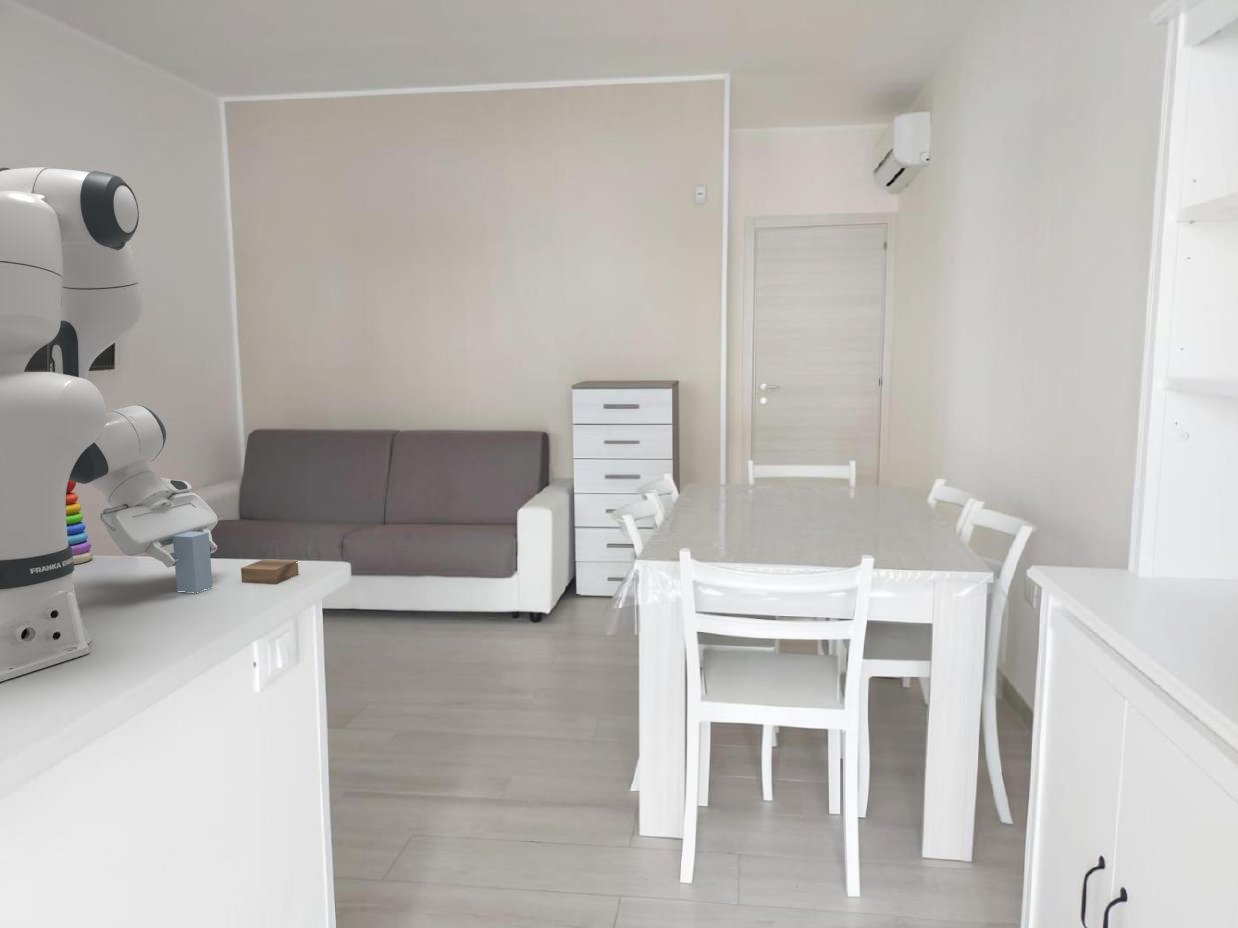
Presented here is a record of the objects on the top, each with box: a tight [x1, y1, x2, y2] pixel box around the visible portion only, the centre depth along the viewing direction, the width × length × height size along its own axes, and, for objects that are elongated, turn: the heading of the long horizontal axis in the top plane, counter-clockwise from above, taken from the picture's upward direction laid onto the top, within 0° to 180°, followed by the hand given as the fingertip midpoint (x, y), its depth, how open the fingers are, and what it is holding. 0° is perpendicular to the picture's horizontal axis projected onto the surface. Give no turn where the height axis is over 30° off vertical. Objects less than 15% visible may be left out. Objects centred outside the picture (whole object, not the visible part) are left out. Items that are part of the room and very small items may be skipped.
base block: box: [240, 558, 300, 585], centre depth 163 cm, size 7×7×3 cm
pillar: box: [172, 531, 213, 593], centre depth 155 cm, size 4×4×10 cm
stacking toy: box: [66, 480, 94, 565], centre depth 176 cm, size 8×8×19 cm
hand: (194, 557), depth 155 cm, fingers open, 8 cm apart
